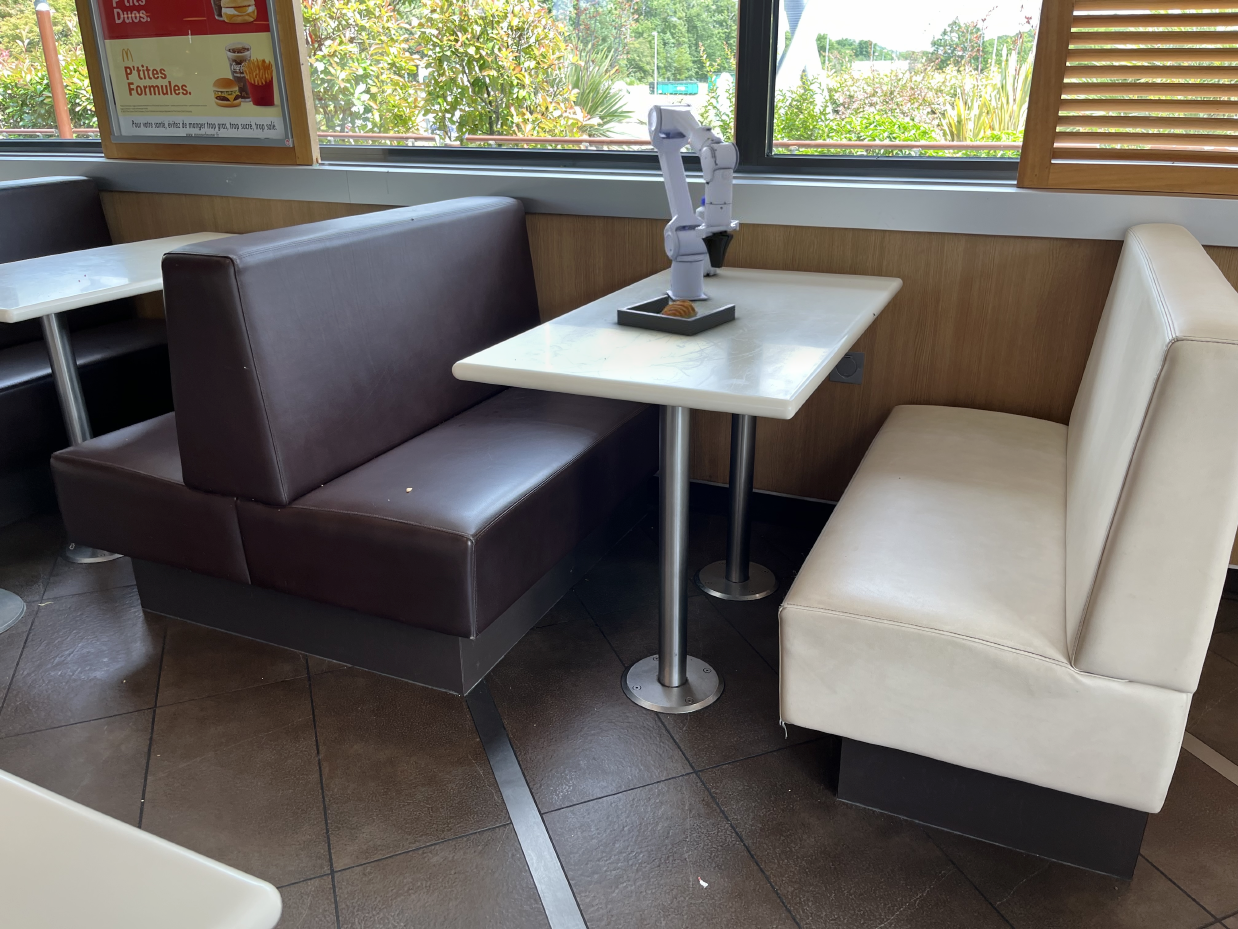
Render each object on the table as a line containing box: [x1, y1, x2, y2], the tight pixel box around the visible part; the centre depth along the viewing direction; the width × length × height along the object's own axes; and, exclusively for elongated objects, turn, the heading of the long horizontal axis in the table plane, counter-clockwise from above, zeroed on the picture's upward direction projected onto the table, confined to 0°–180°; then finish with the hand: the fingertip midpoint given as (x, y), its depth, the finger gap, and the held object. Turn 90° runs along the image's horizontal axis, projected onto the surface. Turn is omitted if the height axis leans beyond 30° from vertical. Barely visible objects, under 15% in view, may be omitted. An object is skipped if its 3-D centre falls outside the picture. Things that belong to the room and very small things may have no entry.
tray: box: [616, 294, 736, 337], centre depth 188 cm, size 18×18×3 cm
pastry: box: [661, 300, 698, 319], centre depth 188 cm, size 9×7×4 cm
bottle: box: [695, 196, 719, 277], centre depth 234 cm, size 7×7×20 cm
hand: (716, 267), depth 195 cm, fingers closed
